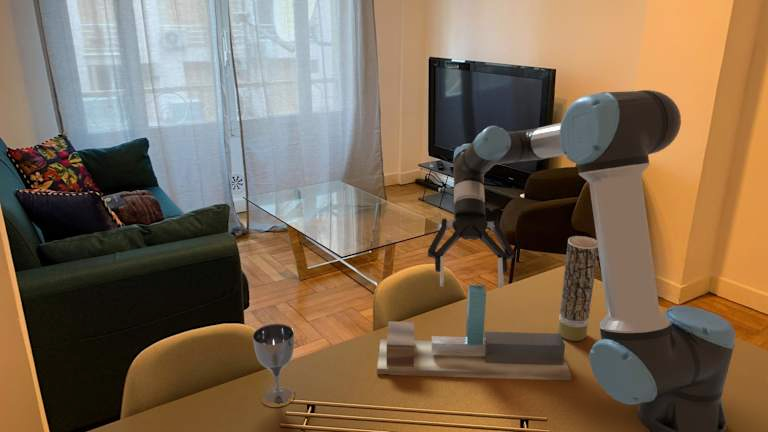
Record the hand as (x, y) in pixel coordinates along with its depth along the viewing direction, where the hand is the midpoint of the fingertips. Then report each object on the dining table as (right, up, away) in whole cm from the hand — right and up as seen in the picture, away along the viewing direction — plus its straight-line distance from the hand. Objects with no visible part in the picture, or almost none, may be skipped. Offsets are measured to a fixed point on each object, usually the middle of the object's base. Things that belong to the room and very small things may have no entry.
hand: (471, 285), depth 132 cm
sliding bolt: (+4, -15, -2) cm, 16 cm away
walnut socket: (-16, -16, -1) cm, 23 cm away
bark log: (+26, -14, +10) cm, 31 cm away
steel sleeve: (+11, -16, -3) cm, 20 cm away
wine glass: (-42, -22, -13) cm, 49 cm away
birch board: (0, -17, -1) cm, 17 cm away
